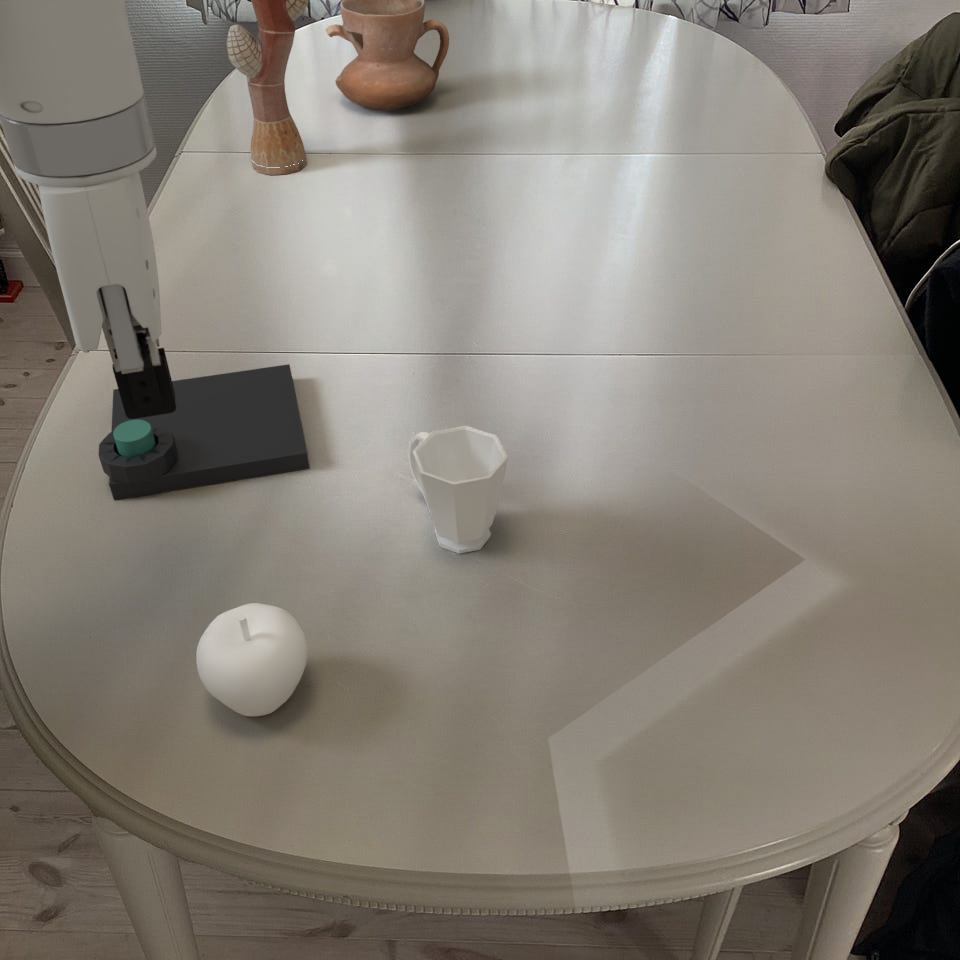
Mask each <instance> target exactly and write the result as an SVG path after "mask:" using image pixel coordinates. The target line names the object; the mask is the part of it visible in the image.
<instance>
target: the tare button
mask: <svg viewBox="0 0 960 960" xmlns="http://www.w3.org/2000/svg"><path fill="white" fill-rule="evenodd" d="M113 436H114V439H115V442H116V446H117V449H118V452H119V454H120V455H122V456H124V457H129V458H131V457H138V456H142V455H144V454H146V453H148V452H150V451H152V450H153V449H154V448H155V445H156V443H155V439H154V435H153V431H152V428H151V425H150V424H149V423H148V422H146V421H144V420H130V421H126V422H124V423H122V424H120V425H118V426H117V427H116V428H115V430H114V432H113Z"/></svg>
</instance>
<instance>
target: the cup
mask: <svg viewBox="0 0 960 960" xmlns="http://www.w3.org/2000/svg"><path fill="white" fill-rule="evenodd" d="M508 458H509V457H508V454H507V452H506V450H505V448H504V446H503V443H502V442H501V439H500V438H499V436H498V435H497V434H494V433H490V432H488V431H485V430H483V429H482V430H481V429H478V428H475V427H472V426H469V425H460V426H456V427H449V428H444V429H439V430H433V431H431V432H430V433H428V432H426V431H421V432H418V433H416V434H414V435H413V436H412V437H411V438H410V439H409V442H408V449H407V460H408V465H409V468H410V472H411V475H412V477H413V479H414V481H415V483H416V486H417V487H418V489H419V491H420V493H421V494H422V496H423V497H424V501H425V504H426V507H427V510H428V512H429V514H430V517H431V521H432V522H433V525H434V535H435V537H436V540H437V542H438V545H439V547H440V548H442V549H446V550H448V551H450V552H453V553H455V554H458V555H461V554H465V553H469V552H475V551H480V550H481V549H482V548H483V547H484V545H485V544H486V543H487V542H488V541H489V539H490V538H491V537H492V536H491V535H492V533H491V531H490V528H491V527H492V526H493V522H494V520H495V517H496V514H497V512H498V509H499V505H500V499H501V494H502V489H503V485H504V484H503V483H504V479H505V474H506V469H507V464H508Z"/></svg>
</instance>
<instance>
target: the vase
mask: <svg viewBox="0 0 960 960" xmlns="http://www.w3.org/2000/svg"><path fill="white" fill-rule="evenodd" d="M250 1H251V5H252V8H253V12H254V15H255V18H256V22H257V26H258V29H257V36H256V37H255V36H254V35H253V34H252V33H250V32H249V31H248V30H247V29H246V28H245V27H243V26H242V25H240V24H237V23H236V24H233V25H231V26H230V27H229V29H228V32H227V38H226V49H227V56H228V59H229V61H230V63H231V65H232V66H233V67H234V68H235V69H236V70H237V71H238V72H239V73H241V74H242V75H244V76H245V77H246V81H247V89H248V93H249V98H250V102H251V107H252V115H253V126H252V127H253V128H252V134H251V140H250V162H251V167H252V168H253V169H254V170H255V171H256V172H257V173H259V174H262V175H263V174H264V175H268V176H280V175H281V176H282V175H288V174H289V175H290V174H293V173H296V172H301V170H302V169H303V168H305V167H306V166H307V164H308V163H307V153H306V149H305V144H304V142H303V139H302V137H301V134H300V131H299V129H298V127H297V125H296V123H295V121H294V119H293V117H292V115H291V113H290V109H289V106H288V105H289V104H288V100H287V94H286V86H285V85H286V83H285V79H286V72H287V67H288V63H289V59H290V55H291V51H292V48H293V45H294V40H295V34H296V25H295V21H296V20H297V19H298V18H299V17H300V16H301V15H303V14H304V13H305V11H306V9H307V8H308V6H309V0H250ZM251 159H252V160H253V161H254V162H255V163H256V164H257V165H262V166H265V167H261V166H257V165H256V164H255V163H253V162H252V161H251ZM302 160H303V161H302ZM298 163H299V164H298ZM293 164H295V165H293ZM290 165H291V166H290ZM285 166H288V167H285ZM266 167H280V168H266Z"/></svg>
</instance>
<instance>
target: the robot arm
mask: <svg viewBox="0 0 960 960" xmlns="http://www.w3.org/2000/svg"><path fill="white" fill-rule="evenodd" d="M0 125H1V129H2V131H3V134H4V137H5V138H4V139H5V141H6V144H7V148H8V151H9V154H10V158H11V160H12V164H13V167H14V171H15V173H16V175H17V177H19V178H20V179H22V180H23V181H25V182H27V183H29V184H34V185H37V187H38V193H39V198H40V204H41V208H42V209H41V210H42V215H43V220H44V225H45V229H46V233H47V237H48V242H49V246H50V250H51V254H52V258H53V262H54V266H55V270H56V273H57V277H58V281H59V284H60V288H61V292H62V295H63V301H64V303H65V308H66V312H67V315H68V319H69V323H70V328H71V331H72V335H73V340H74V343H75V347H76V348H77V349H78V350H80V352H82V353H85V354H87V353H90V352H91V351H95V350H96V351H97V350H98V349H99V344H100V339H101V334H102V332H103V335H104V339H105V342H106V346H107V348H108V352H109V355H110V358H111V362H112V364H111V365H112V367H111V368H112V372H113V374H114V379H115V382H116V385H117V389H118V390H119V393H120V397H121V400H122V404H123V407H124V411H125V414H126V417H127V418H129V419H137V418H143V417H149V416H155V415H161V414H168V413H173V412H174V411H175V410H176V402H175V392H174V388H173V384H172V381H173V380H172V376H171V372H170V367H169V363H168V359H167V356H166V355H167V354H166V352H165V351H166V350H165V347H160V346H161V345H160V337H161V335H162V316H161V315H162V313H161V296H160V295H161V294H160V282H159V271H158V264H157V256H156V250H155V243H154V237H153V232H152V227H151V222H150V217H149V211H148V207H147V203H146V202H147V201H146V198H145V194H144V188H143V184H142V179H141V174H140V172H141V171H142V170H144V169H146V168H147V167H149V166H150V165H151V164H152V162H153V161H155V159H156V157H157V153H158V152H157V147H156V143H155V137H154V134H153V129H152V124H151V119H150V115H149V110H148V104H147V101H146V95H145V91H144V88H143V83H142V77H141V72H140V68H139V63H138V60H137V54H136V50H135V45H134V41H133V35H132V31H131V27H130V22H129V18H128V12H127V8H126V3H125V0H0Z"/></svg>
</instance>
